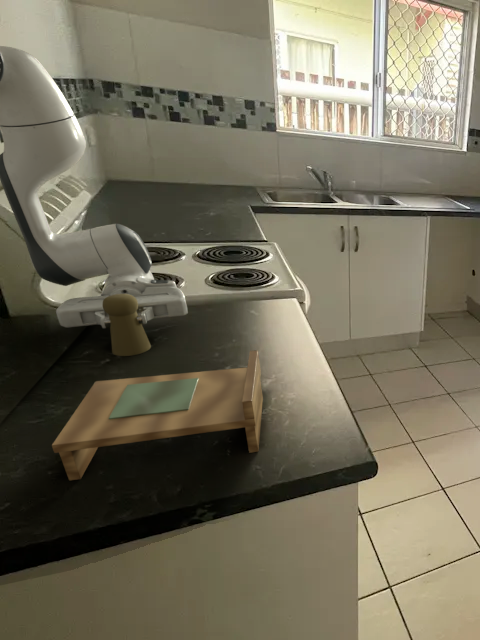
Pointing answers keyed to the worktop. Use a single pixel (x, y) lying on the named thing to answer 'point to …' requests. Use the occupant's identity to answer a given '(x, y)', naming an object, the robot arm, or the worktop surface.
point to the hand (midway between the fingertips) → (124, 322)
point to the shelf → (162, 411)
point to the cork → (125, 325)
